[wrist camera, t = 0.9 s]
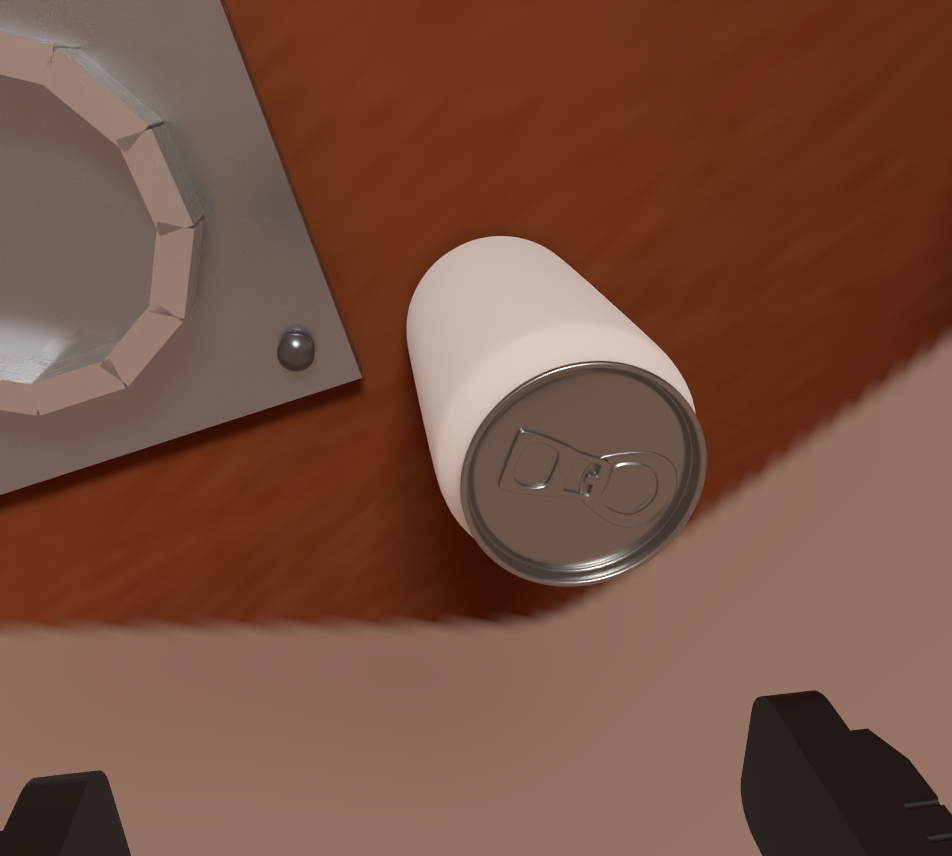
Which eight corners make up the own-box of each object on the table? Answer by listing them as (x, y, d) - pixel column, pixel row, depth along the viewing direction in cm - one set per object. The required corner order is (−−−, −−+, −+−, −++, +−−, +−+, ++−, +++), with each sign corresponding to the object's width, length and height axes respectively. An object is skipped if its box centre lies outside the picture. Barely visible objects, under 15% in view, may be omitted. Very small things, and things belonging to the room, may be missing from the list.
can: (546, 426, 31) (656, 624, 20) (382, 383, 29) (403, 573, 18) (611, 264, 28) (774, 387, 18) (437, 207, 27) (498, 304, 16)
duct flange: (162, -163, 22) (136, -196, 19) (361, 367, 29) (363, 399, 26) (-412, 17, 21) (-522, 10, 19) (-72, 508, 28) (-116, 554, 26)
